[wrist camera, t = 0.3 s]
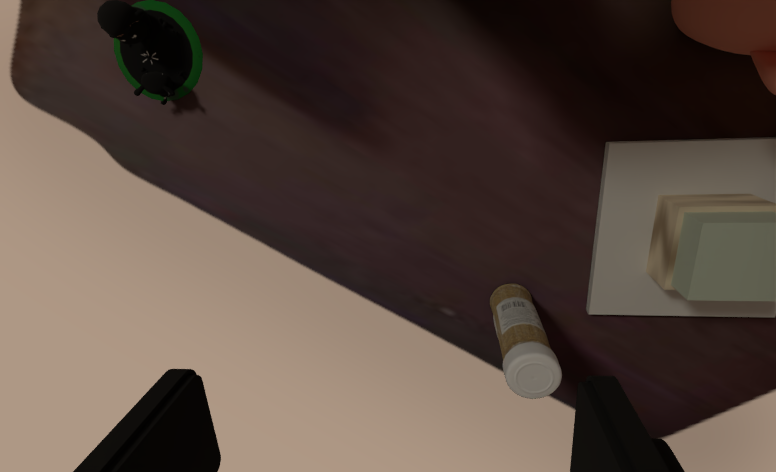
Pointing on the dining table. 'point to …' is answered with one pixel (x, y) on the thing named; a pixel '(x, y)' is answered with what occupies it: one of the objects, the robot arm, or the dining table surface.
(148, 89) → the toy figurine
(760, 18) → the teapot
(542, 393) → the sprinkles bottle
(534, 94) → the dining table surface
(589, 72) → the dining table surface
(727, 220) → the sage block
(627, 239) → the base plate
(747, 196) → the birch block
